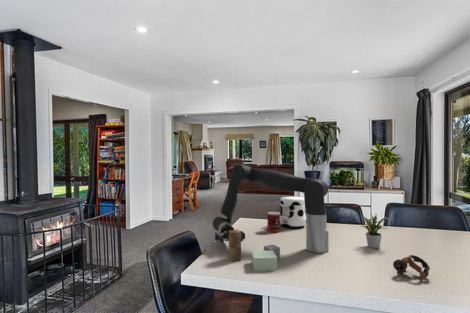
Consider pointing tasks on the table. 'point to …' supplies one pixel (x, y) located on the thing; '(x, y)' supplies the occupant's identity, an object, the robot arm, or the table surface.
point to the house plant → (373, 232)
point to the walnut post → (234, 245)
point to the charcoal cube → (274, 248)
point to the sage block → (264, 260)
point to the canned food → (273, 222)
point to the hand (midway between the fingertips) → (232, 240)
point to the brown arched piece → (402, 265)
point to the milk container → (292, 212)
